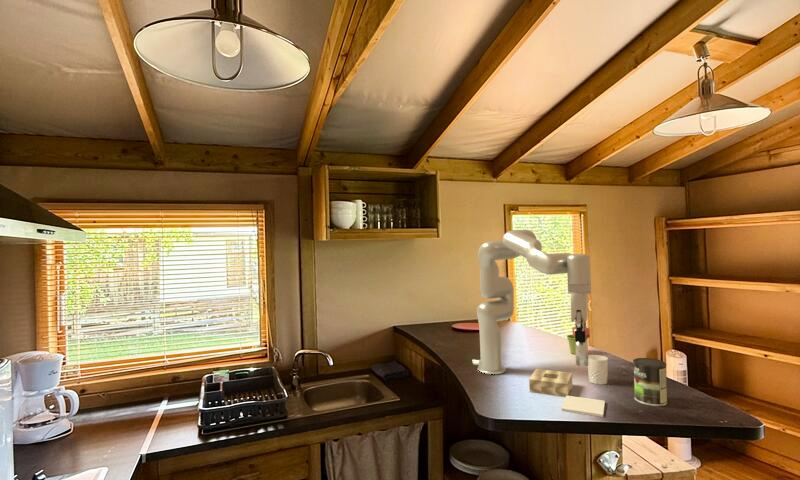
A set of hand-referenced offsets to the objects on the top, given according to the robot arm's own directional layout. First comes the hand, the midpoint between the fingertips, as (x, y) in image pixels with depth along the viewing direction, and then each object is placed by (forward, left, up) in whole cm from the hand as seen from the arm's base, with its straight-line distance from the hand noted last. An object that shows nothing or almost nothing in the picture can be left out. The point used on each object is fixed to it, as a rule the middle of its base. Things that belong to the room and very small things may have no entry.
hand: (581, 339), depth 147 cm
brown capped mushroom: (0, 0, -9) cm, 9 cm away
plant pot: (-9, +70, -24) cm, 75 cm away
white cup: (+3, +29, -24) cm, 38 cm away
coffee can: (+21, +15, -24) cm, 35 cm away
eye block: (-13, +14, -24) cm, 30 cm away
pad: (0, 0, -24) cm, 24 cm away
